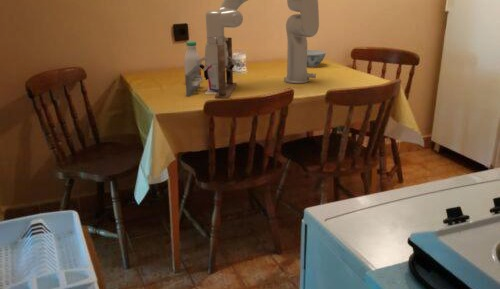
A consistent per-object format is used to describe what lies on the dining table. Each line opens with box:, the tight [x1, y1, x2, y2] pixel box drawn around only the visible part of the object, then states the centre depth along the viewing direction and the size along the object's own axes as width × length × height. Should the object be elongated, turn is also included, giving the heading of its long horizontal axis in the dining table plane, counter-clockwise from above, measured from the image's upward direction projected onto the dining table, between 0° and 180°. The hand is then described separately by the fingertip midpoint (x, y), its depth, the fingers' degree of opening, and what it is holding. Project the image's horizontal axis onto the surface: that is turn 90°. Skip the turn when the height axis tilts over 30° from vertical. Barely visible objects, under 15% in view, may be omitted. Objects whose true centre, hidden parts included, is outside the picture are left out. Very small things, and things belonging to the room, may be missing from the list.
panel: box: [184, 66, 204, 98], centre depth 202 cm, size 4×20×10 cm, turn 174°
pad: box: [204, 87, 218, 95], centre depth 202 cm, size 10×10×1 cm
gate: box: [214, 37, 238, 99], centre depth 198 cm, size 6×24×22 cm, turn 174°
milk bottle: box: [183, 40, 202, 82], centre depth 216 cm, size 8×8×20 cm
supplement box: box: [207, 64, 227, 91], centre depth 200 cm, size 6×6×12 cm
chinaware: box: [307, 49, 326, 68], centre depth 254 cm, size 15×15×8 cm
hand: (217, 79), depth 200 cm, fingers open, 9 cm apart
